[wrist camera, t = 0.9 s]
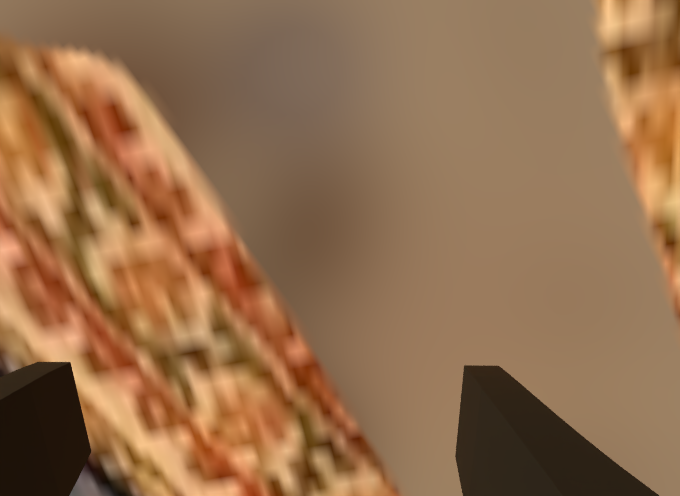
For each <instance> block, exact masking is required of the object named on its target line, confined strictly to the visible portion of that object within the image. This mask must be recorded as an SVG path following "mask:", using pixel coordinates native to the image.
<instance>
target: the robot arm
mask: <svg viewBox="0 0 680 496" xmlns="http://www.w3.org/2000/svg"><path fill="white" fill-rule="evenodd" d="M90 453H91V448H90V444H89V440H88V435H87V431H86V427H85V423H84V418H83V414H82V410H81V406H80V401H79V397H78V393H77V389H76V384H75V380H74V376H73V372H72V367H71V363H70V362H37V363H34V364H31V365H29V366H26V367H23V368H21V369H18V370H16V371H14V372H11V373H9V374H7V375H4V376H2V377H0V496H69V495H70V493H71V491H72V489H73V487H74V485H75V483H76V482H77V480H78V478H79V475H80V473H81V471H82V469H83V467H84V465H85V463H86V461H87V459H88V457H89V455H90ZM456 462H457V466H458V472H459V477H460V482H461V488H462V493H463V496H659V495H658V494H656V493H655V492H654V491H652V490H651V489H650V488H648V487H647V486H646V485H644V484H643V483H642V482H640V481H639V480H638V479H636V478H635V477H634V476H632V475H631V474H630V473H628V472H627V471H626V470H624V469H623V468H622V467H620V466H619V465H618V464H616V463H615V462H614V461H612V460H611V459H610V458H609V457H607V456H606V455H605V454H604V453H603V452H601V451H600V450H599V449H598V448H596V447H595V446H594V445H593V444H591V443H590V442H589V441H588V440H586V439H585V438H584V437H583V436H581V435H580V434H579V433H578V432H576V431H575V430H574V429H573V428H572V427H571V426H569V425H568V424H567V423H565V421H563V420H562V419H561V418H560V417H558V416H557V415H556V414H555V413H554V412H553V411H551V410H550V409H549V408H548V407H547V406H546V405H544V404H543V403H542V402H541V401H540V400H539V399H537V398H536V397H535V396H534V395H533V394H532V393H530V392H529V391H528V390H527V389H526V388H525V387H524V386H522V385H521V384H520V383H519V382H518V381H516V380H515V379H514V378H513V377H511V375H509V374H508V373H507V372H505V371H504V370H503V369H502V368H501V367H499V366H464V374H463V384H462V394H461V404H460V415H459V426H458V435H457V446H456Z"/></svg>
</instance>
